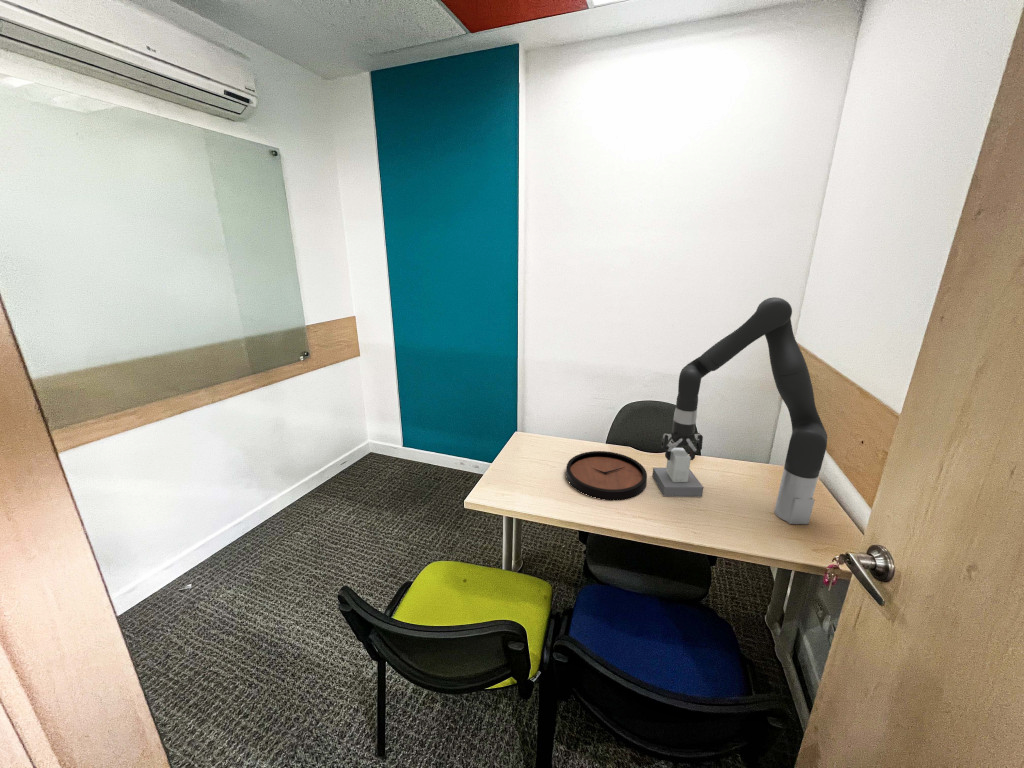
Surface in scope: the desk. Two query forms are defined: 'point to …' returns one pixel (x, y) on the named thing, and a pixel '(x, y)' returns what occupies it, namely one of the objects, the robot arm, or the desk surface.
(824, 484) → the desk surface
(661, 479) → the base block
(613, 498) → the wall clock
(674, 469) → the small box
